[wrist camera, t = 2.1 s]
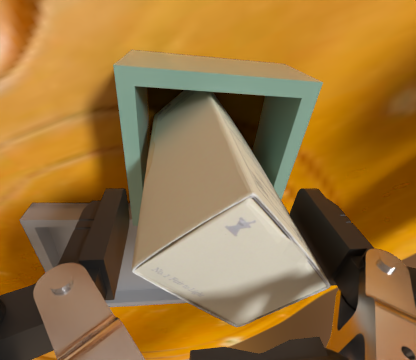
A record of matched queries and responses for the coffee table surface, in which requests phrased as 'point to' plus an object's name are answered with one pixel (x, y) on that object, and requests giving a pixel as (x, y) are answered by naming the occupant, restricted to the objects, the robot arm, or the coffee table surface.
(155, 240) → the skincare box
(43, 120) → the coffee table surface
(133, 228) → the tray
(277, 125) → the teal square open box
